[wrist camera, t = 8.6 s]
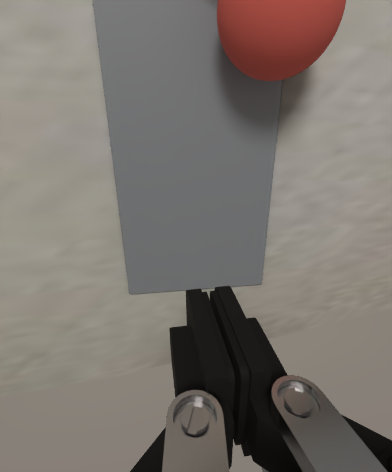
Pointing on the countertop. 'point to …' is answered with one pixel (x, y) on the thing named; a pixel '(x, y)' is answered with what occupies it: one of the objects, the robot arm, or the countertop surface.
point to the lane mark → (185, 146)
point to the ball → (276, 34)
